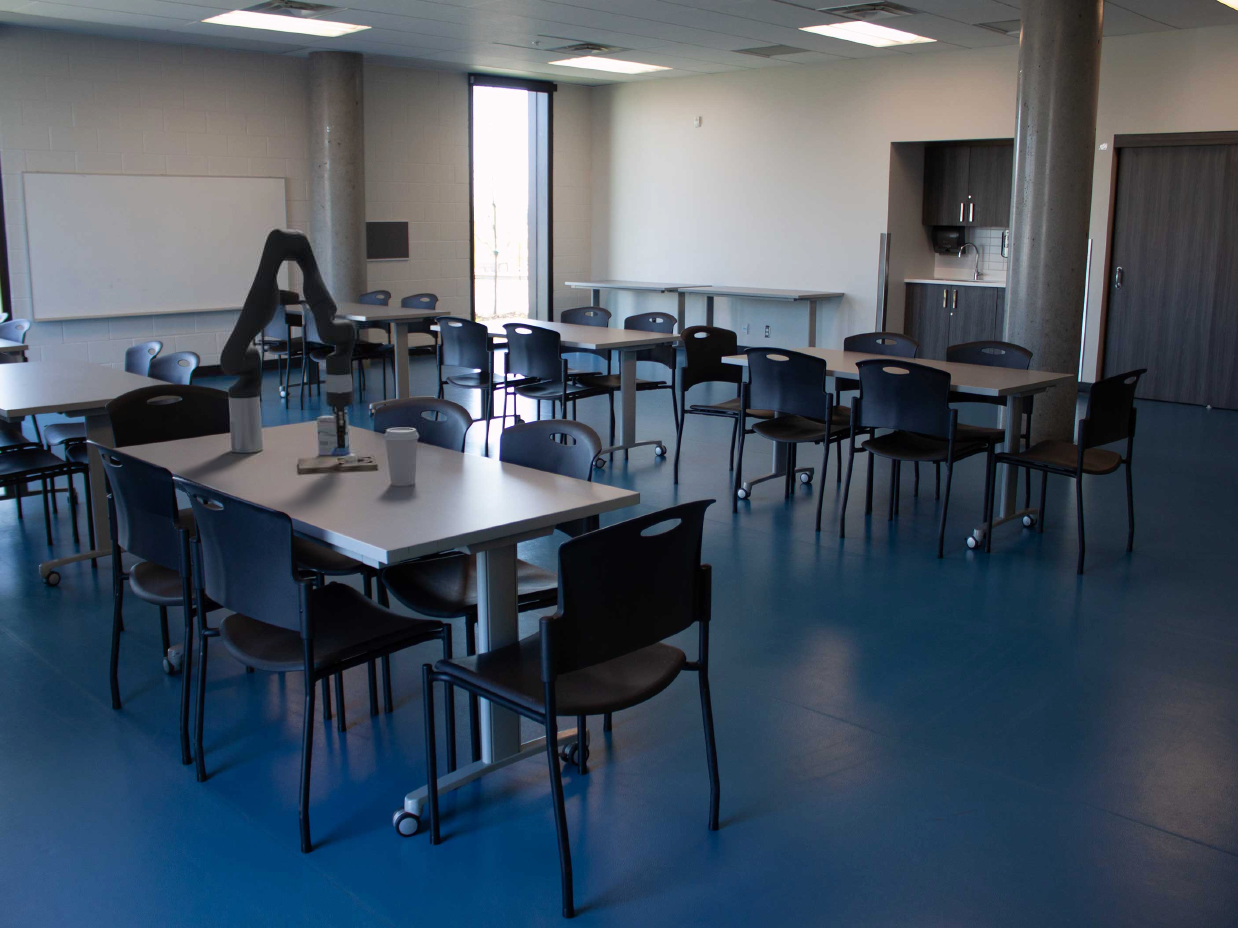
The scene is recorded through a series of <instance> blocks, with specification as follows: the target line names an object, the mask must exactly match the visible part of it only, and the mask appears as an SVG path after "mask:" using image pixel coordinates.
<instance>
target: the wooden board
mask: <svg viewBox="0 0 1238 928" xmlns="http://www.w3.org/2000/svg"><path fill="white" fill-rule="evenodd" d="M347 456H348V455H340V456H322V457H321V456H320V457H307V458H306V457H303V458H301V457H299V458H297V464H298V473H299V474H317V473H318V474H319V473H337V472H338V473H339V471H340V472H354V471H356V470H359V471H374V470H375V471H376V470H378V469H379V468H378V467H379V464H378V462H377V460H376V458H375V455H374V454H367V455H365V454H363V455H356V456H357V458H358V462H354V463H352V462H346V457H347Z"/></svg>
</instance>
